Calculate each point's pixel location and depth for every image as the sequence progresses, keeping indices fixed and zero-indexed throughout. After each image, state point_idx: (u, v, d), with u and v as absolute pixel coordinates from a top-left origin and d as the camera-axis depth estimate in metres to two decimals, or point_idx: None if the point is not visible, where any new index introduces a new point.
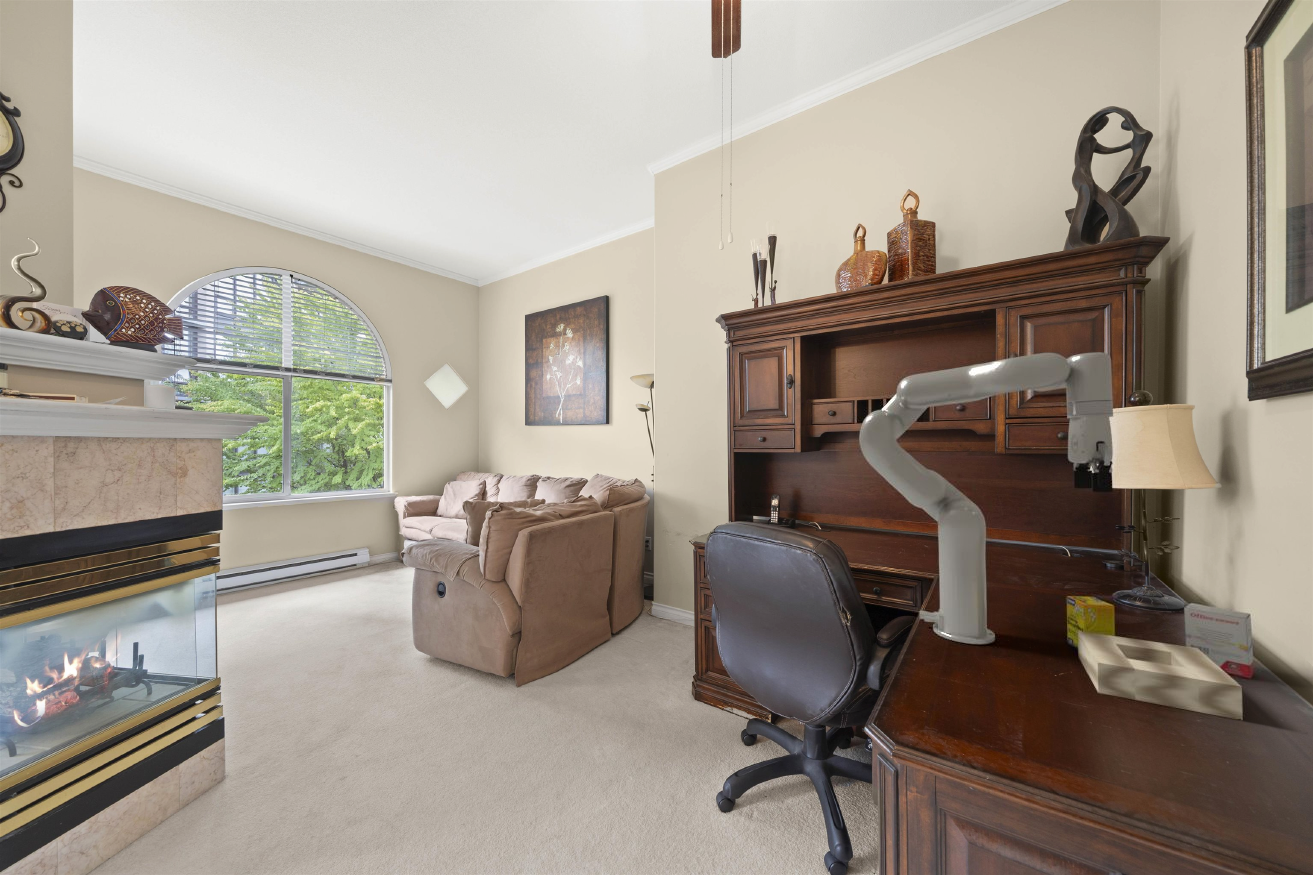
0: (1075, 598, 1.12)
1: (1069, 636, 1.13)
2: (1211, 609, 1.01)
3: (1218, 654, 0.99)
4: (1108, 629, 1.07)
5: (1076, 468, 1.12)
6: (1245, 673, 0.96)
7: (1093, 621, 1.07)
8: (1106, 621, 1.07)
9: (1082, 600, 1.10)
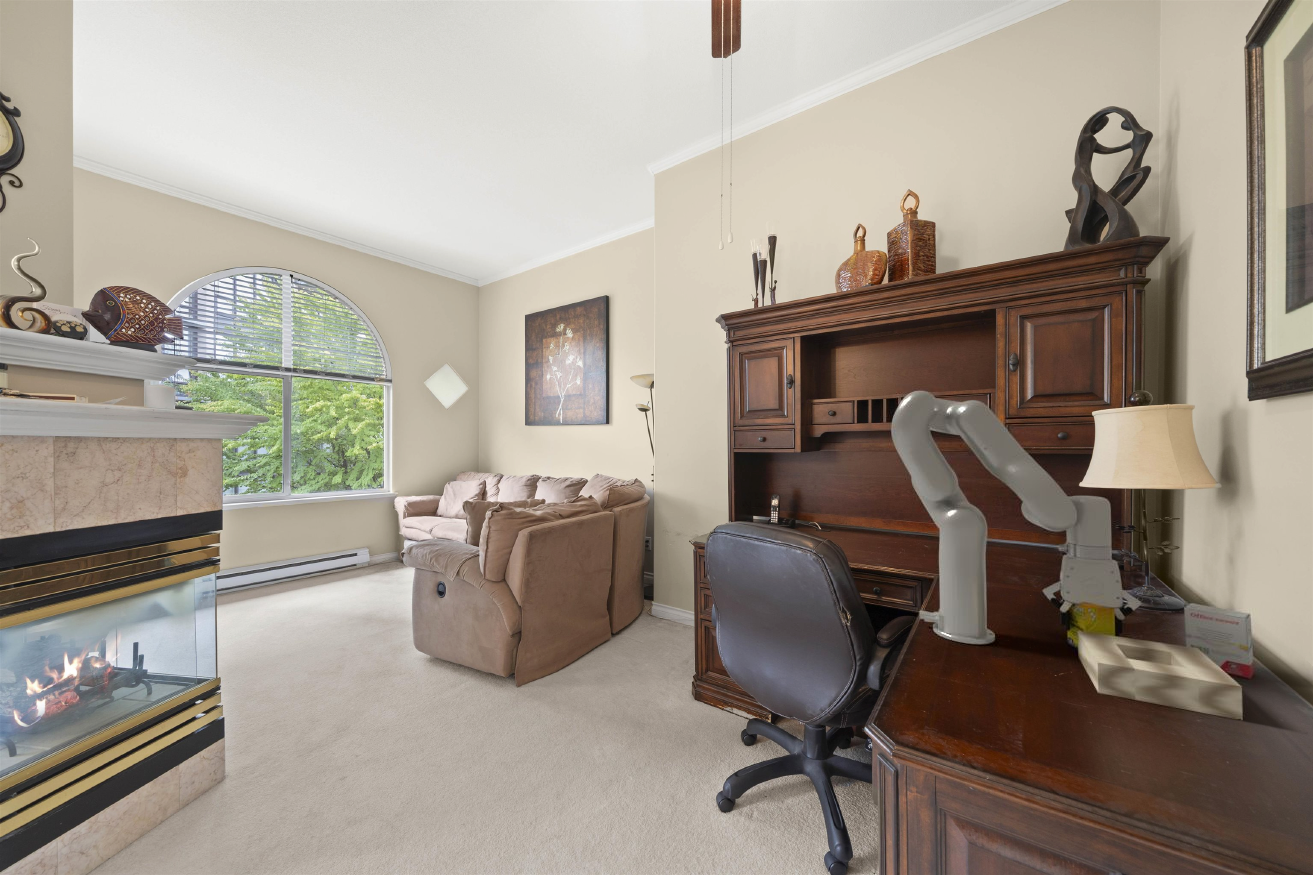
0: None
1: (1069, 636, 1.13)
2: (1211, 609, 1.01)
3: (1218, 654, 0.99)
4: (1108, 629, 1.07)
5: None
6: (1245, 673, 0.96)
7: (1093, 621, 1.07)
8: (1106, 621, 1.07)
9: None
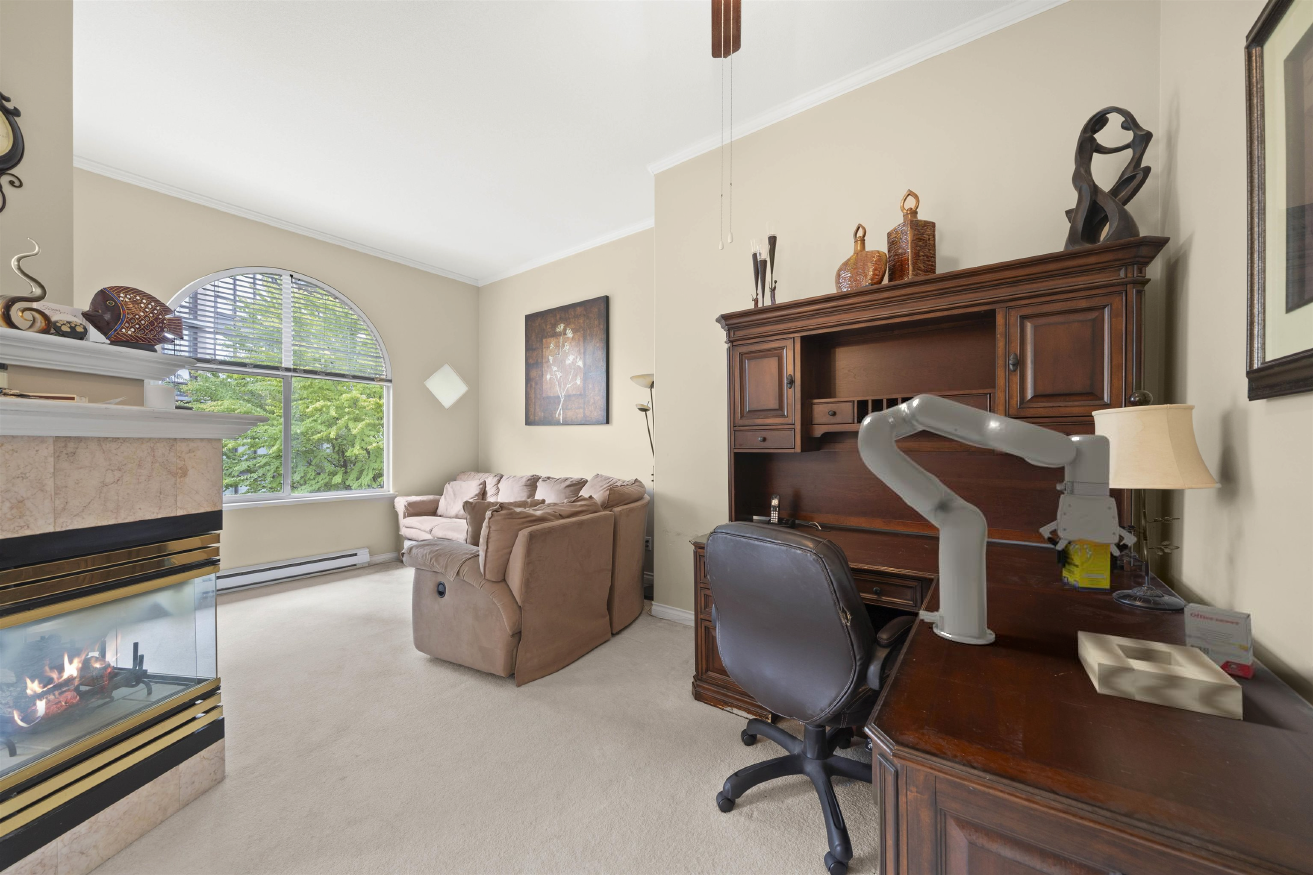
0: None
1: (1064, 575, 1.13)
2: (1211, 609, 1.01)
3: (1218, 654, 0.99)
4: (1104, 565, 1.07)
5: None
6: (1245, 673, 0.96)
7: (1089, 557, 1.08)
8: (1102, 557, 1.07)
9: None
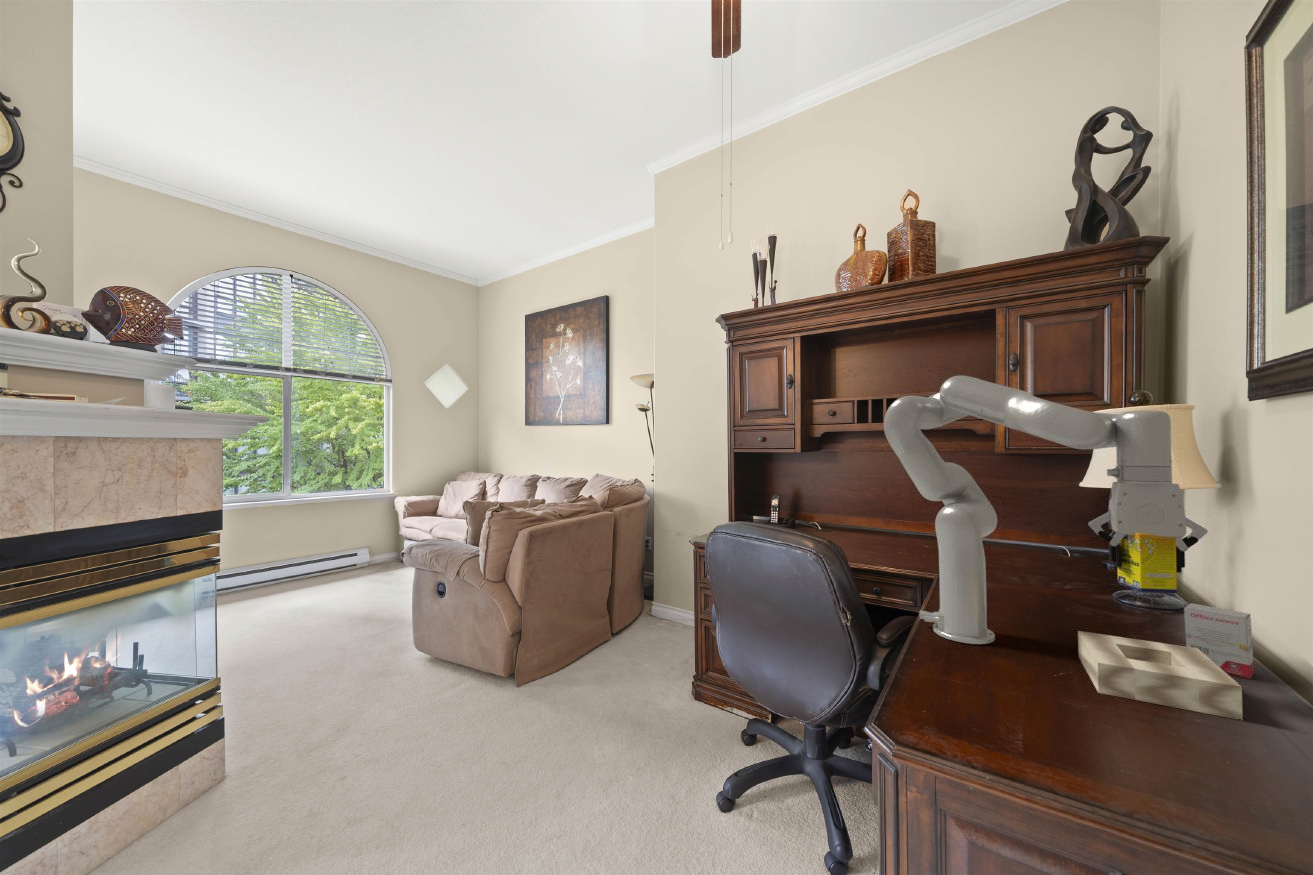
0: None
1: (1120, 575, 0.97)
2: (1211, 609, 1.01)
3: (1218, 654, 0.99)
4: (1169, 563, 0.92)
5: None
6: (1245, 673, 0.96)
7: (1151, 554, 0.92)
8: (1166, 553, 0.92)
9: None
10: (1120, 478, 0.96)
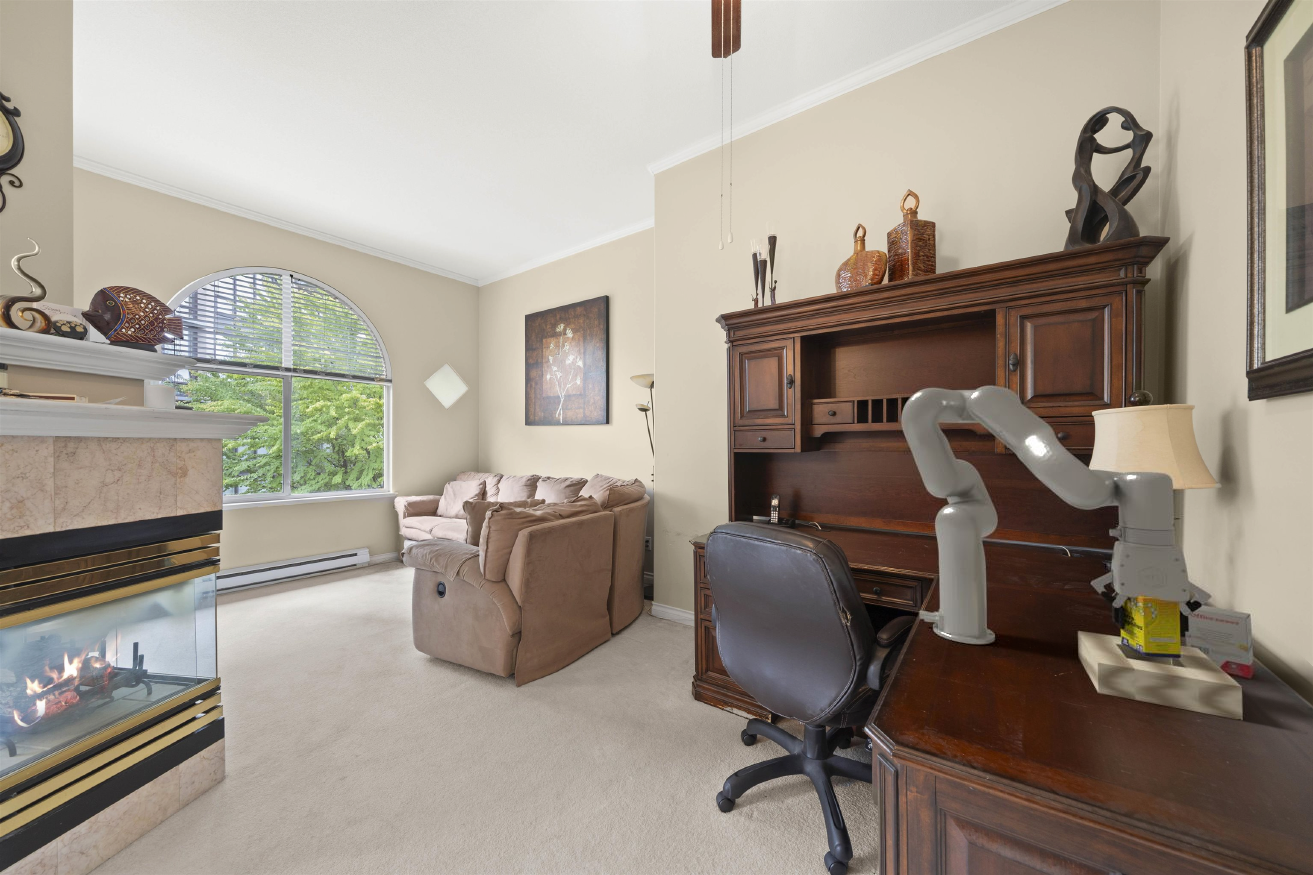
0: None
1: (1123, 635, 0.97)
2: (1211, 609, 1.01)
3: (1218, 654, 0.99)
4: (1172, 627, 0.91)
5: None
6: (1245, 673, 0.96)
7: (1154, 618, 0.92)
8: (1170, 618, 0.91)
9: None
10: (1122, 539, 0.95)
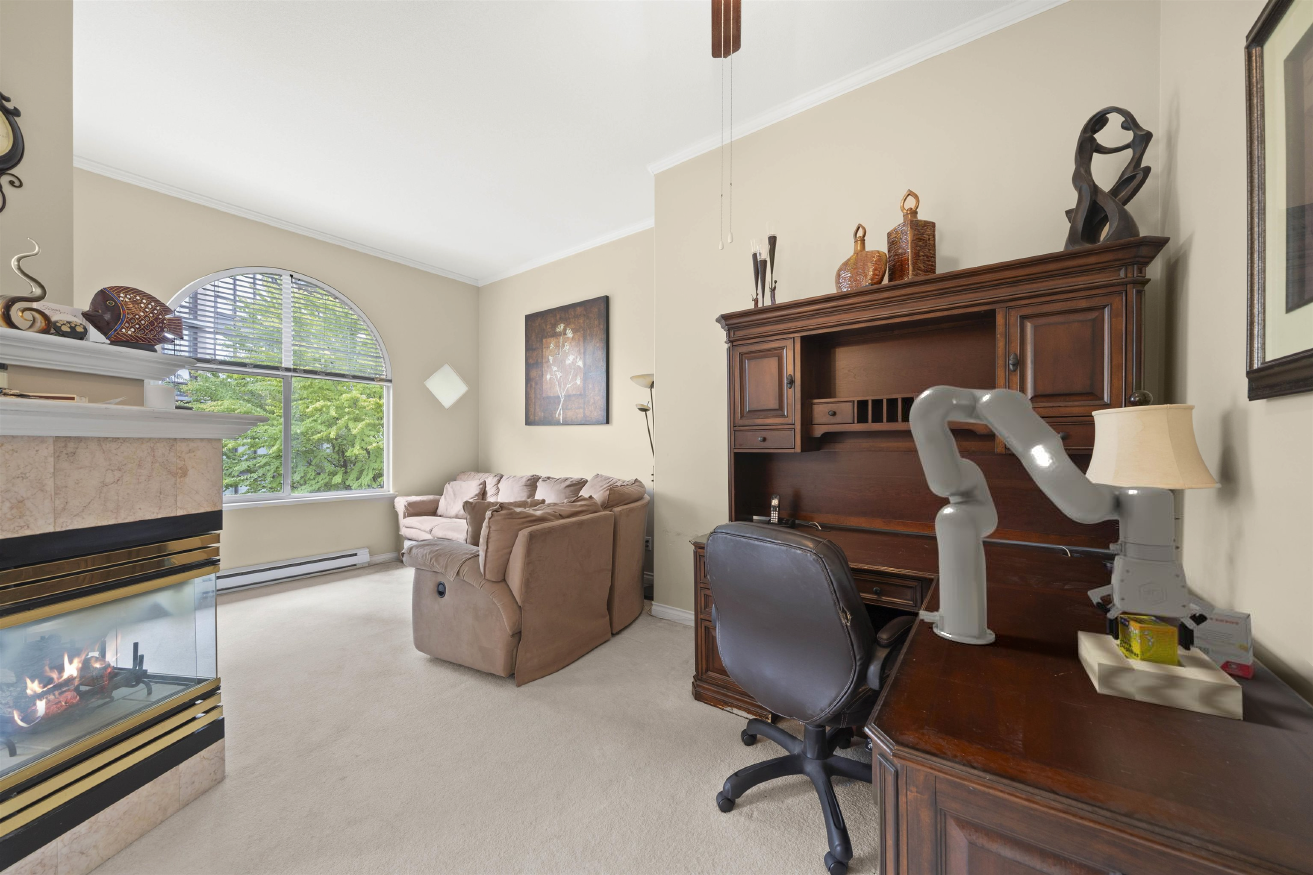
0: (1129, 618, 0.96)
1: None
2: None
3: (1218, 654, 0.99)
4: (1170, 655, 0.91)
5: None
6: (1245, 673, 0.96)
7: (1151, 646, 0.92)
8: (1167, 646, 0.91)
9: (1137, 620, 0.94)
10: (1123, 554, 0.95)
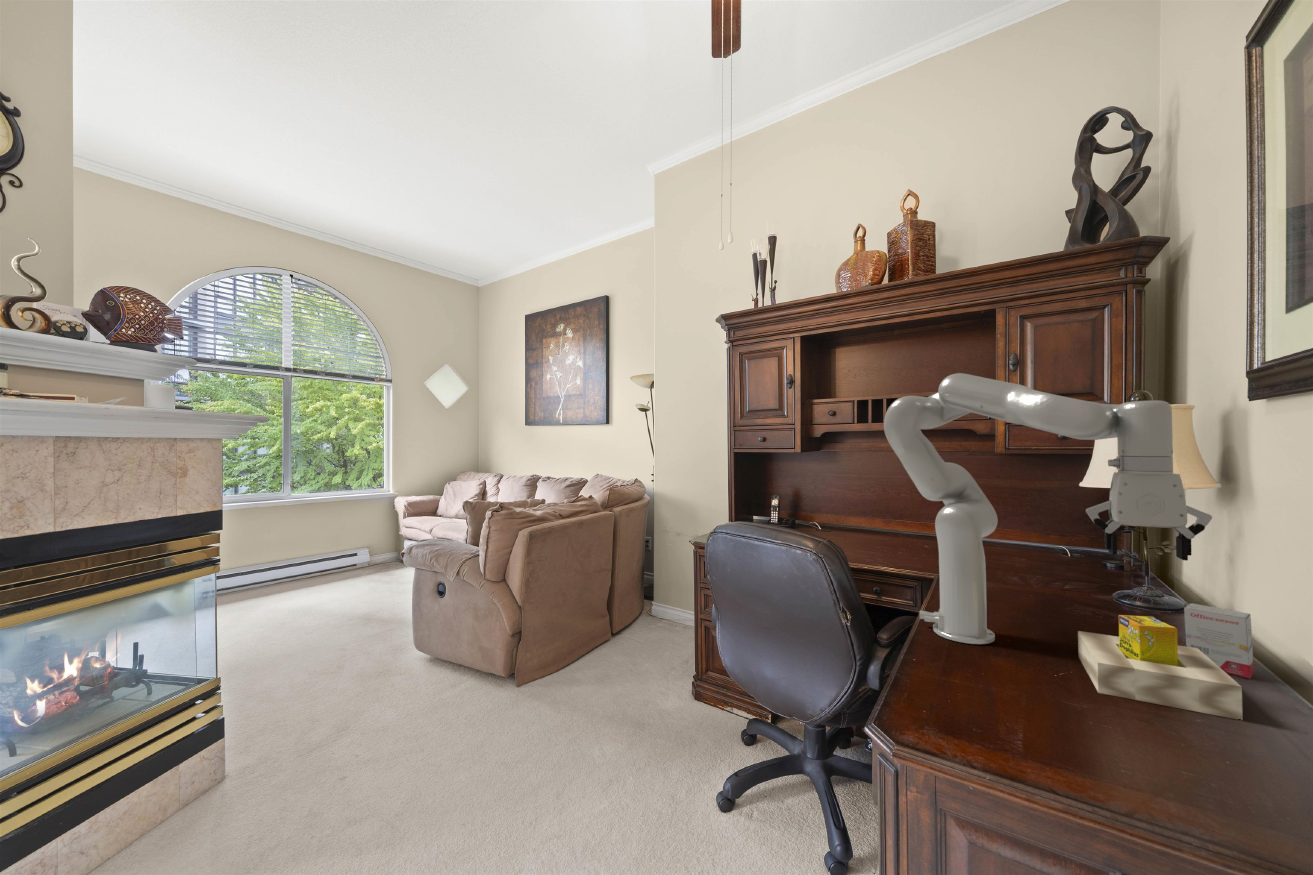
0: (1129, 618, 0.96)
1: None
2: (1211, 609, 1.01)
3: (1218, 654, 0.99)
4: (1170, 655, 0.91)
5: None
6: (1245, 673, 0.96)
7: (1151, 646, 0.92)
8: (1167, 646, 0.91)
9: (1137, 620, 0.94)
10: (1121, 468, 0.96)
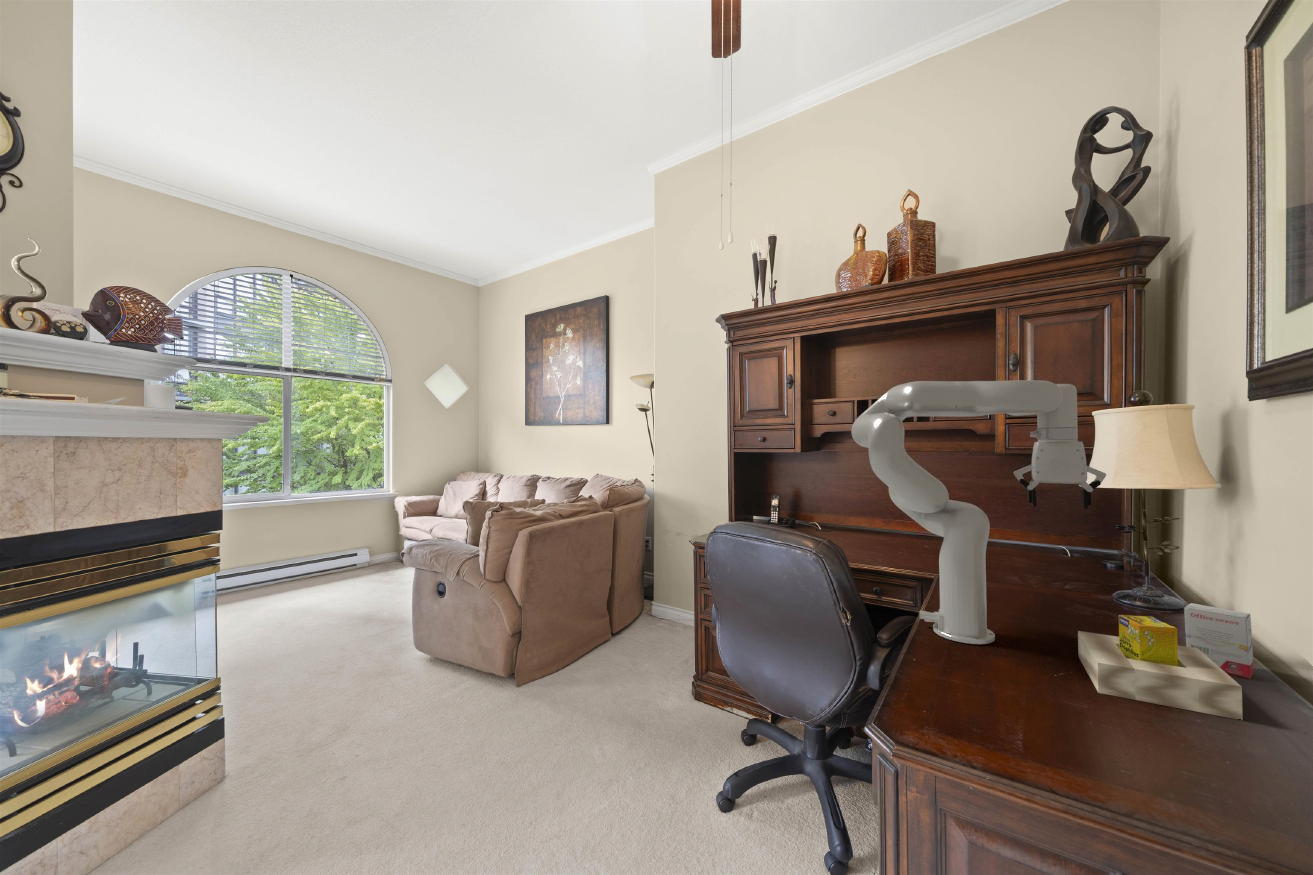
0: (1129, 618, 0.96)
1: None
2: (1211, 609, 1.01)
3: (1218, 654, 0.99)
4: (1170, 655, 0.91)
5: (1033, 488, 1.21)
6: (1245, 673, 0.96)
7: (1151, 646, 0.92)
8: (1167, 646, 0.91)
9: (1137, 620, 0.94)
10: (1039, 438, 1.20)
